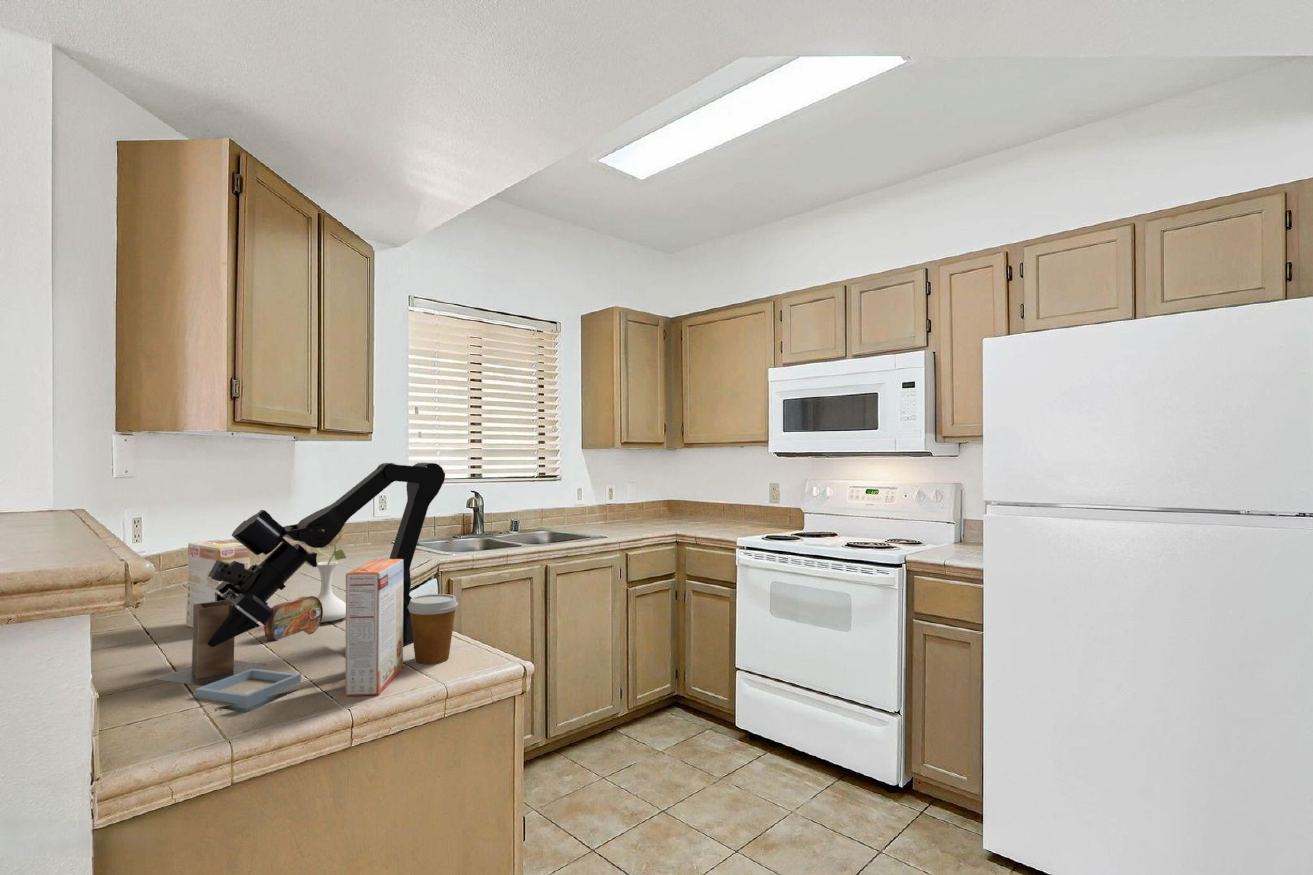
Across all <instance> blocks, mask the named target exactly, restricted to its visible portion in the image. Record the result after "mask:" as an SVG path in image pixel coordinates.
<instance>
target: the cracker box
mask: <svg viewBox="0 0 1313 875" xmlns="http://www.w3.org/2000/svg"><path fill="white" fill-rule="evenodd" d="M345 603H346V617H345V662H344V663H345V667H344V668H345V683H344V684H345V689H344V690H345V691H344V692H345V694H344V695H345V697H355V696H356V697H357V696H379V695H380V694H381V693H382V692H383V691H384V689H385V688H386V687H387V686H388V685H389V684H390V682H392V681H393V679H394V678H395V677H396V676H397V674H398V673H400V671H401V670H402V669H403V667H404V646H403V559H389V558H376V559H373V560H371V561H368V562H367V563H365V564H363V565H361V566H359V567H357V568H355V569H353V570H351V571H349V572H346V573H345Z"/></svg>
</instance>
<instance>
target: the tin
mask: <svg viewBox="0 0 1313 875" xmlns="http://www.w3.org/2000/svg"><path fill="white" fill-rule="evenodd" d="M270 608H271V609H273V617H272V618H271V619H270V620H269V621H268V622H267V623H266V624H265V625H264V626H263V629H264V630H263V631H264V635H265V638H266V639H267V640H268V641H279V640H281V639H284V638H287V637H290V636H293V635H295V634H298V633H301V632H305V633H306V634H307V635H311V634H313V633H315V632H316V631H317V630H318V629H319V627H320V625H321V623H322V622H321V620H322V616H323V607H322V604H321V602H320V600H319V599H318V598H317V596H314V595H309V596H300V597H296V598H294V599H291V600H288V601H284V602H281V603H278V604H275V605H274V606H272V607H270Z"/></svg>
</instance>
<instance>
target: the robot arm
mask: <svg viewBox="0 0 1313 875" xmlns="http://www.w3.org/2000/svg"><path fill="white" fill-rule="evenodd" d="M445 480H446V472H445V471H444V469H443V467H442V466H441V465H440V464H438V463H436V462H434V463H433V462H417V463H415V464H413V465H405V464H396V463H392V462H383V463H381V464H378V466H377V467H376V468H375V469H374V470H373V471H372V472H371V473H369V474H368V475H367V476H366V477H365V478H363V479H362V480H361V481H359V482H358V483H356V485H354V486H353V487H351V489H349V490H348V491H347V492H346V493H344V494H343V495H342V496H340V497H339V498H338V499H337V500H335V501H334V502H333V503H331V504H329V505H328V506H326V507H323V508H321V509H318V510H316V511H314V512H312V513H311V514H309V515H307V516H306V517H304V518H302V519H301V520H299V522H298V523H296V524H291V525H285V526H282V525H281V524H280V523H279V522H277V520H275V519H274V518H273V517H272V516H271V514H270V513H269V512H267V511H266V510H265V509H260V510H259V511H258V512H257V513H256V514H254V515H252V516H250V517H249V518H248V519H246V520H244V521H242V522H241V523H240V524H239V525H238V526H237V527H236V528H235V529H234V530H233V532H232V534H231V537H233V538H234V539H235V540H236V541H238V542H239V543H240V544H243V545H244V546H245V547H246V548H248V549H249V550H250V553H251V552H252V553H253V554H254V555H255V556H260V554H264V556H265V555H268V554H269V555H268V556H267V557H265V559H263V561H261V562H260V563H259V564H257V563H256V564H252V565H250V568H249V569H246V568H245V564H243V563H239V562H236V561H233V562H232V563H227V562H223V561H220V560H217V561H216V562H215V564H214V566H213V568H212V570H211V571H210V573H209V575H208V576H209V577H211V578H212V579H214V580H217V581H223V582H222V583H221V584H220V585H219V586H218V587H217V588H215V589H216V590H218V591H219V592H220V594H218V593H216V592H215V593H214V595H215V601H223V600H230V601H231V602H232V603H234V604H235V606H233V605H232V604H231V603H230V604H229V616H228V617H227V618H226V620H225V621H224V622H223V623H222V625H221V626H220V627H219V629H218V630H217V631H216V632H215V634H214V635H213V636H212V637H211V639H210V640H209V641H208V643H207V644H208V645H209V646H210V647H214V646H216V645H218V644H221V643H223V642H225V641H227V640H229V639H231V638H233V637H234V638H235V637H237V636H239V635H242V634H243V633H246V632H249V631H250V630H253V629H255V628H259V627H261V625H265V624H266V623H267V622H268V621H269V620H270V619H271V618H272V617H273V609H271V608H272V607H270V606H269V603H268V602H267V601H268V600H269V599H270V598H271V597H272V596H274V594H275V593H276V592H277V591H279V590H280V591H283V590H284V589H285V588H286V587H287V586H286V585H285V584H286V583H287V581H288V580H289V579H290V578H291V577H292V576H293V575H294V574H295V573H296V572H297V571H298V570H300V568H301V567H302V566H303V565H304V564H306V565H308V566H310V567H312V568H317V563H318V561H317V556H318V553H317V552H314V551H311V552H309V551H308V550H306V549H305V547H303V546H302V545H305V546H308V547H310V548H313V549H320V548H322V547H325V546H327V545H328V544H329V543H330V542H331V541H332V540H333V539H334V538H335V537H336V536H337V534H338V533H339V532H340V531H341V530H342V528H343V526H344V525H345V526H346V523H347V522H348V520H349V519H350V518H351V517H353V516H354V515H355V514H356V513H357V512H358V511H359V510H361V509H362V508H363V507H365V506H366V505H367V504H368V503H370V502H371V501H372V500H373V499H374V498H376V497H377V496H378V495H379V494H380V493H381V492H382V491H384V490H385V489H386V488H388V487H389V486H390V485H391V484H393V483H394V482H399V483H400V482H401V483H406V496H407V500H406V505H405V507H404V509H403V510H404V511H403V514H402V517H401V520H400V523H399V527H398V529H397V534H396V536H395V539H394V543H393V546H392V549H391V552H390V555H389V558H388V559H403V647H404V646H406V645H409V644H411V643H413V635H412V626H411V617H410V612H409V609H408V605H409V603H410V600H411V599H412V598H413V597H412V596H410V595H411V594H410V592H411V588H412V586H411V585H412V580H411V579H412V578H411V565H412V561H413V559H414V555H415V553H416V548H417V545H418V543H419V539H420V535H421V532H422V528H423V525H424V522H425V519H426V516H427V513H428V510H429V506H430V504H431V503H432V502H433V501H434V499H435V498H436V497H437V495H438V494H439V492H440V490H441V488H442V486H443V485H444V483H445ZM345 526H344V527H345ZM285 538H287V539H289V540H292V541H297V542H299V543H301V544H302V545H301V544H299V543H295V544H294V545H292V544H291V543H290V542H289V541H287V540H286V539H285ZM238 606H239V608H236V607H238ZM258 622H259V623H260V624H261V625H260V624H259V623H258Z"/></svg>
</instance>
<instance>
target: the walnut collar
mask: <svg viewBox="0 0 1313 875" xmlns="http://www.w3.org/2000/svg"><path fill="white" fill-rule="evenodd" d="M230 603H231V604H232V605H233V606H235V604H234V603H232V602H231V601H230V600H223V601H215V602H207V603H199V604H194V605H193V628H192V645H191V646H192V647H191V648H192V650H191V653H192V654H191V667H192V672H193V674H194V675H195V676H196V678H197V679H199V678H204V677H209V676H214V675H219V674H224V673H230V672H234V660H235V637H233V638H231V639H229V640H227V641H225V642H223V643H221V644H218V645H216V646H214V647H210V646H209V645H208V644H207V643H208V641H209V640H210V639H211V637H212V636H213V635H214V634H215V632H216V631H217V630H218V629H219V627H220V626H221V625H222V623H223V622H224V621H225V620H226V618H227V617H228V616H229V604H230Z"/></svg>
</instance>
